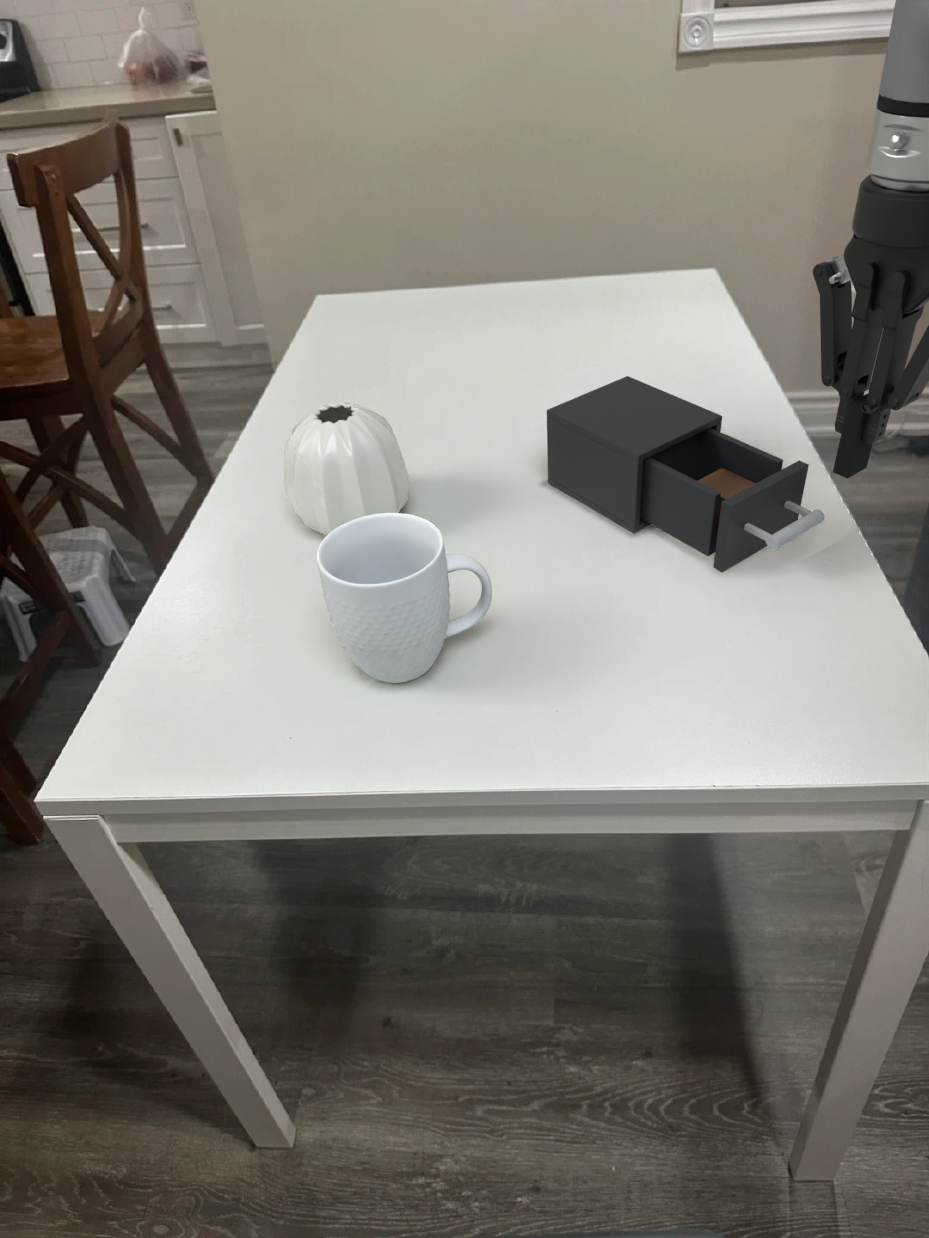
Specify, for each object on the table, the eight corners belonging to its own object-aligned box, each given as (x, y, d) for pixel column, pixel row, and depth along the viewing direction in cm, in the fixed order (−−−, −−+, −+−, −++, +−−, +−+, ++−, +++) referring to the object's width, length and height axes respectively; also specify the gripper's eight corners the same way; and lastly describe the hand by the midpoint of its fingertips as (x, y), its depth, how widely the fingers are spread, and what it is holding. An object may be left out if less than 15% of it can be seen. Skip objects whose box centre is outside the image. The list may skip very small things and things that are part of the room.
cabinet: (713, 492, 100) (722, 415, 93) (634, 533, 94) (638, 456, 88) (624, 447, 109) (627, 375, 103) (547, 483, 104) (546, 409, 98)
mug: (482, 605, 87) (472, 494, 79) (510, 678, 79) (503, 561, 70) (335, 635, 85) (309, 524, 77) (348, 712, 77) (321, 597, 68)
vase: (435, 517, 100) (423, 411, 92) (333, 566, 94) (309, 457, 86) (372, 474, 109) (355, 373, 100) (274, 517, 103) (247, 413, 94)
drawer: (830, 546, 88) (845, 480, 83) (755, 592, 84) (767, 525, 79) (698, 481, 100) (705, 419, 95) (626, 518, 95) (629, 455, 90)
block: (750, 520, 91) (756, 483, 88) (722, 537, 89) (726, 499, 86) (717, 503, 94) (721, 467, 91) (688, 519, 92) (692, 483, 89)
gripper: (806, 173, 63) (761, 458, 78) (979, 204, 55) (891, 516, 70) (869, 152, 66) (814, 430, 82) (1042, 178, 58) (944, 482, 73)
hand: (849, 469), depth 76 cm, fingers closed
